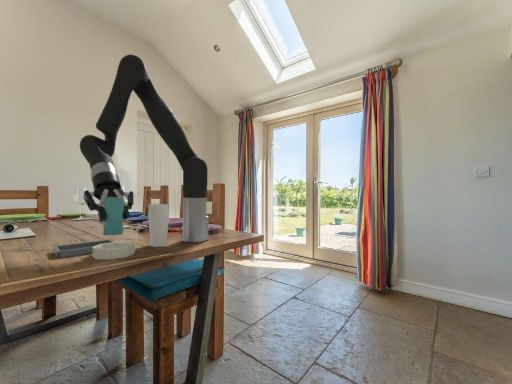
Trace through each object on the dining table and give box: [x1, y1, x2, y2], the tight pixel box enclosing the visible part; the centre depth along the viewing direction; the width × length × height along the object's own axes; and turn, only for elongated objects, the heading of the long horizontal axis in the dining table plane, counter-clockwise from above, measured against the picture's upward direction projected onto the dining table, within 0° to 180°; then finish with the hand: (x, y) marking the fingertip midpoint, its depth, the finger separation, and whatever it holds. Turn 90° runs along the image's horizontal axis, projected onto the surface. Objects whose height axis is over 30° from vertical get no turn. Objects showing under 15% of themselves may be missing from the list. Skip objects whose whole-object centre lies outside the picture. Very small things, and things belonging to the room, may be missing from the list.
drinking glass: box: [147, 203, 170, 248], centre depth 86 cm, size 7×7×15 cm
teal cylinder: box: [102, 196, 125, 236], centre depth 73 cm, size 5×5×11 cm
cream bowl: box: [91, 241, 136, 260], centre depth 73 cm, size 10×10×3 cm
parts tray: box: [53, 239, 115, 259], centre depth 77 cm, size 15×9×2 cm, turn 135°
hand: (115, 218), depth 72 cm, fingers closed on teal cylinder, 5 cm apart
